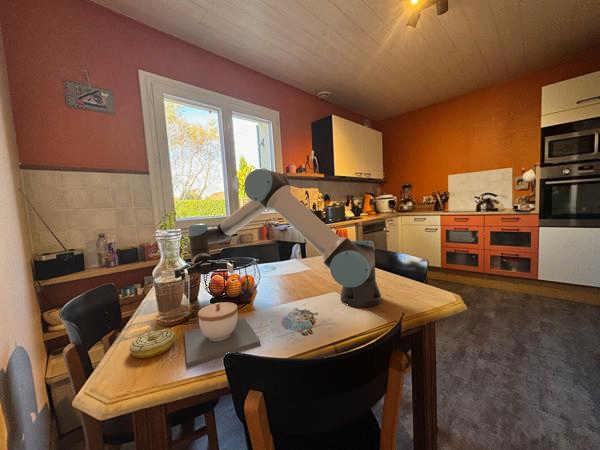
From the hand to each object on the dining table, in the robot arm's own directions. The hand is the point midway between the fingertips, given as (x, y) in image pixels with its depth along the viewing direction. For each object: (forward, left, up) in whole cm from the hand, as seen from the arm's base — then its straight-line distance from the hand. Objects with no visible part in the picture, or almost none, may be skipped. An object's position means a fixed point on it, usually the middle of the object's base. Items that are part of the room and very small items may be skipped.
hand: (210, 273), depth 77 cm
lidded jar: (-5, +8, -16) cm, 19 cm away
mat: (-5, +9, -17) cm, 20 cm away
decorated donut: (+12, +12, -18) cm, 25 cm away
